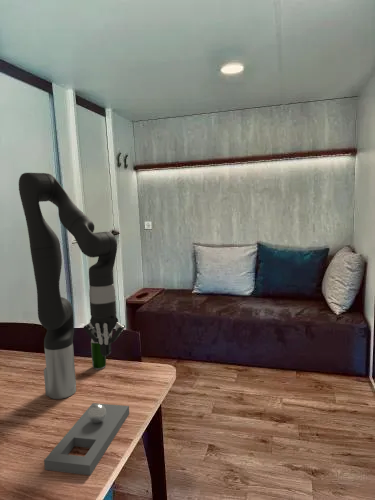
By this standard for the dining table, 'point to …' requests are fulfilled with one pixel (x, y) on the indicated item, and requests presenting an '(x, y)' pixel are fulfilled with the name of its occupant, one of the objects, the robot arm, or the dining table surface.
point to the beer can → (97, 356)
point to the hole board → (87, 441)
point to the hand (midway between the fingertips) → (106, 355)
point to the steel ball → (97, 413)
